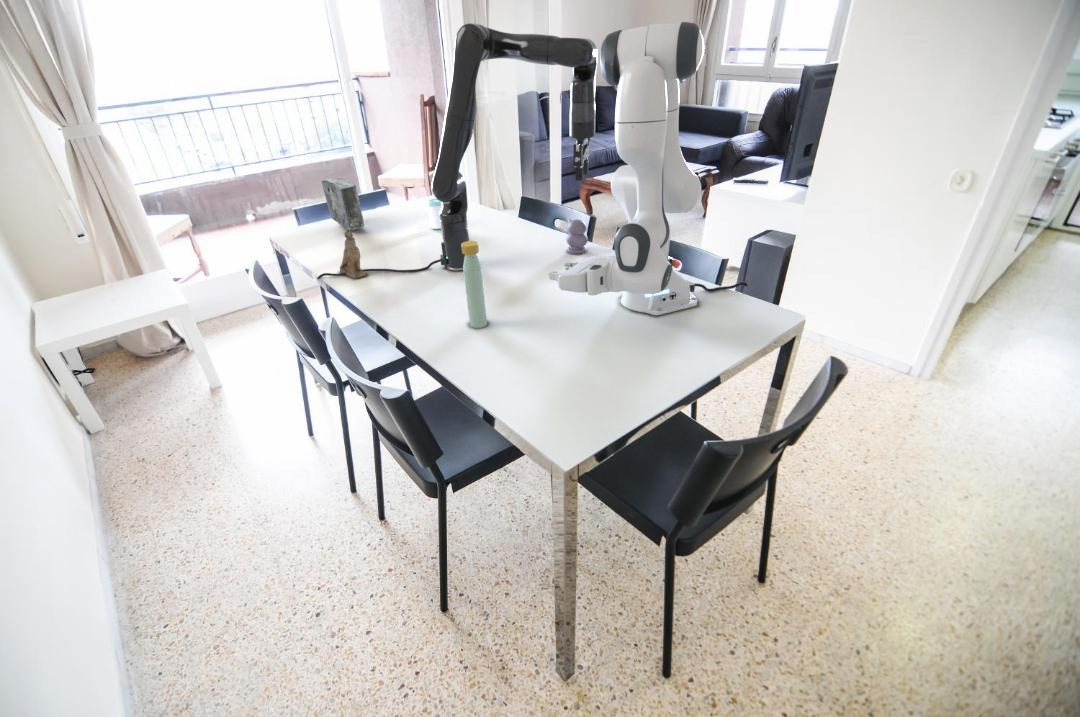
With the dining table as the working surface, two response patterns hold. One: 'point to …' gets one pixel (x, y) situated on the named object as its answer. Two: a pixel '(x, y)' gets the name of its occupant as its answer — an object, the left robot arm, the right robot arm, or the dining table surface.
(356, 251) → the brown carved statuette
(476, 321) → the bottle
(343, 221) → the concrete block
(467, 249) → the cap
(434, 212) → the white lidded cup
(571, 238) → the cat figurine
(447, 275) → the dining table surface
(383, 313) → the dining table surface
